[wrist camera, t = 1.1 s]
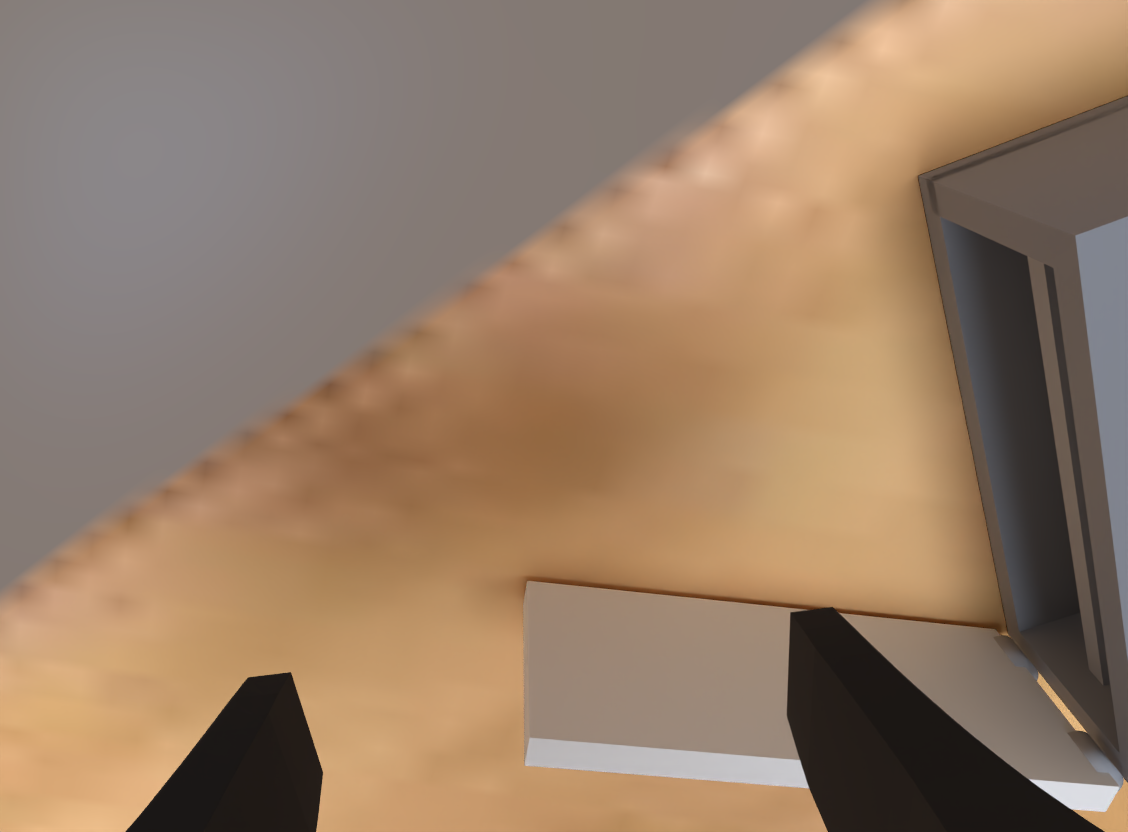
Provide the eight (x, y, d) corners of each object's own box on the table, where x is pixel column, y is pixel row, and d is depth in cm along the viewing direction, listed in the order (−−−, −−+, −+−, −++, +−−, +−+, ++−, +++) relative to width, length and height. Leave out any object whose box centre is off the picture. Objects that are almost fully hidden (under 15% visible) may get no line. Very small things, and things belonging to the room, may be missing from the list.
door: (989, 679, 25) (1107, 843, 20) (518, 633, 24) (517, 799, 19) (1013, 628, 25) (1142, 785, 20) (527, 577, 23) (530, 734, 18)
